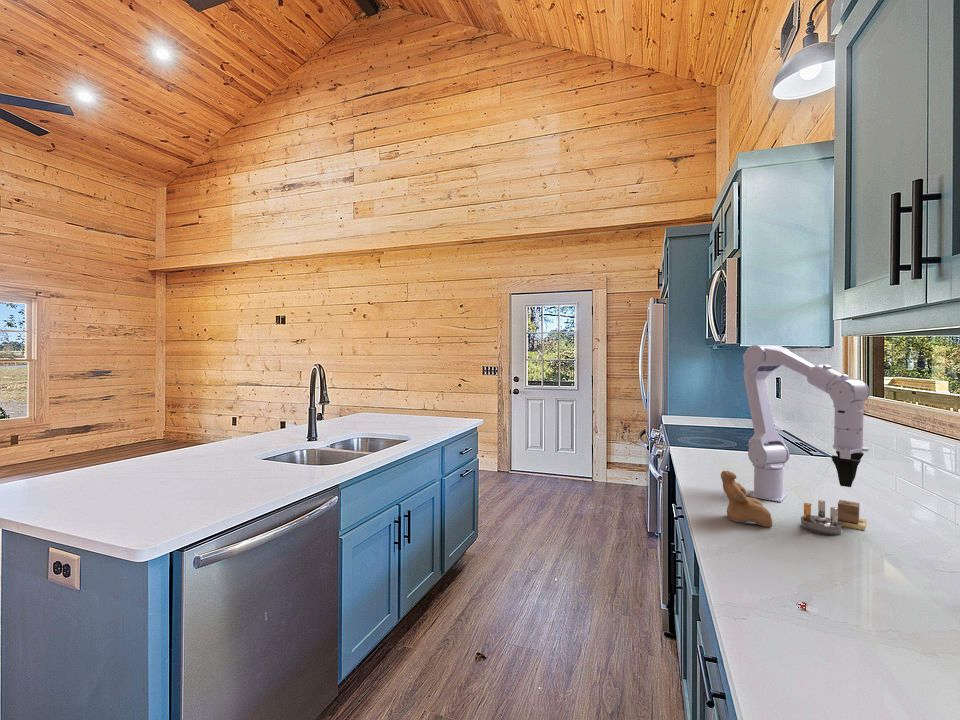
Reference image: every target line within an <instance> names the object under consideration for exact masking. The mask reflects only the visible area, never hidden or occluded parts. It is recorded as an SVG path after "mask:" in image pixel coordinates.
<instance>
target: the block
mask: <svg viewBox="0 0 960 720" xmlns="http://www.w3.org/2000/svg"><path fill="white" fill-rule="evenodd" d="M837 508H838V520H842V521H848V522H853V523H858V522H859V518H860V502H855V501H850V500H844V499H839V500H838V502H837Z"/></svg>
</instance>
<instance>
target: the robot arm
mask: <svg viewBox="0 0 960 720" xmlns="http://www.w3.org/2000/svg"><path fill="white" fill-rule="evenodd" d="M742 358H743V364H744V370H743V379H744V384H745V385H744V386H745V390H746V395H747V401H748V406H749V411H750V416H751V417H750V418H751V422H752V427H753V432H754V434H753V435H752V436H751V437H750V439H749V440H748V450H747V452H748V453H747V455H748V459H749V461H750V462H751V464H752V466H753V491H752V492H751V493H750V494H749V497H750V498H755V499H762V500H768V501H771V500H772V501H773V502H777V501H778V503H781V502H783V501H784V500H785V498H786V497H787V496H788V493H786V492H784V479H785V478H784V468H785V464H786V463H788V461H789V460H790V450H789V448H788V446H787V445H786V443H785V441H784V440H785V439H784V437H783V436H782V435H780V434H779V433H778V432H776V431H777V430H776V426H775V425H776V424H775V421H774V415H773V410H772V406H771V405H772V404H771V400H770V394H769V391H768V385H767V377H769V376H770V374H771V373H773V372H774V371H776V370H778V368H780V367H781V366H783V367H786V368H787V369H789V370H791V371H794V372H796V373H798V374H801V375H803V376H805V377H806V381H807V382H808V384H810V385H811V386H813V387H816V388H817V389H819V390H820V391H823V392H824V393H825V394H826V393H827V394H828V396H830V399H831V400H832V403H833V408H834V423H833V424H834V425H833V427H834V428H833V429H834V431H833V433H834V434H833V444H832V448H833V449H834V450H835V453H836V455H835V454H834V455H833V454H832V455H831V456H830V457H831V461H832V463H833V465H834V466H835V469H836V473H837V478H838V482H839V485H840V487H844V488H845V487H846V488H851V487H852V486H853V483H854V481H855V478H856V475H857V471H858V465H860V463H861V461H862V458H863V456H864V454H865V453H864V452H867V453H868V452H869V451H870V448H869V447H867V446H866V447H864V413H865V411H864V409H865V402H866V401H867V400H868V399H869V397H870V395H871V391H870V387H869V385H868V384H867V383H866V382H864V381H863V380H862V379H861V378H860V379H859V378H853V379H850V378H849V374H848V375H847V374H846V373H842V374H841V373H840V372H838V371H836V370H834V369H832V367H833V366H831V365H829V364H818V365H814V364H813V363H811V362H809V361H807V360H805V359H804V358H803V357H800V356H798V355H797V354H795V353H794V352H791V351H790V349H788V348H785V347H783V346H781V345H779V344H775V345H758V344H757V345H756V344H754V345H750V346H748V348H747V349H746V350H745V351H744V353H743V355H742ZM782 500H783V501H782Z"/></svg>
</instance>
